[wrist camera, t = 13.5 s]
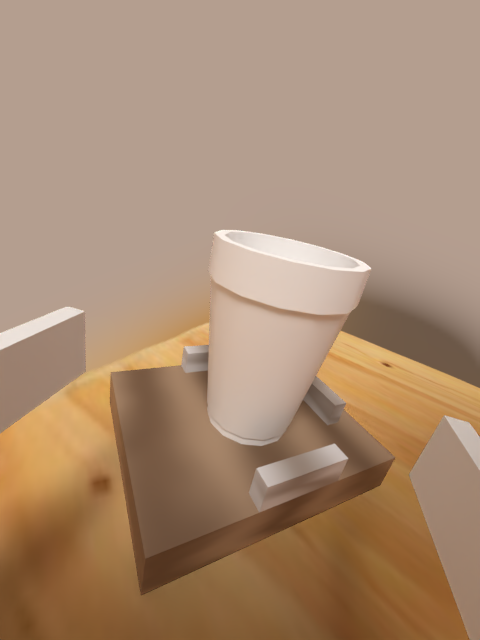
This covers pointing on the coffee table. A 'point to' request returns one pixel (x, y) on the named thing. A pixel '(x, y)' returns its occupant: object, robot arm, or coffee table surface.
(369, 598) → the coffee table surface
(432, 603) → the coffee table surface
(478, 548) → the robot arm
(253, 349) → the foam cup
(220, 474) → the shelf
